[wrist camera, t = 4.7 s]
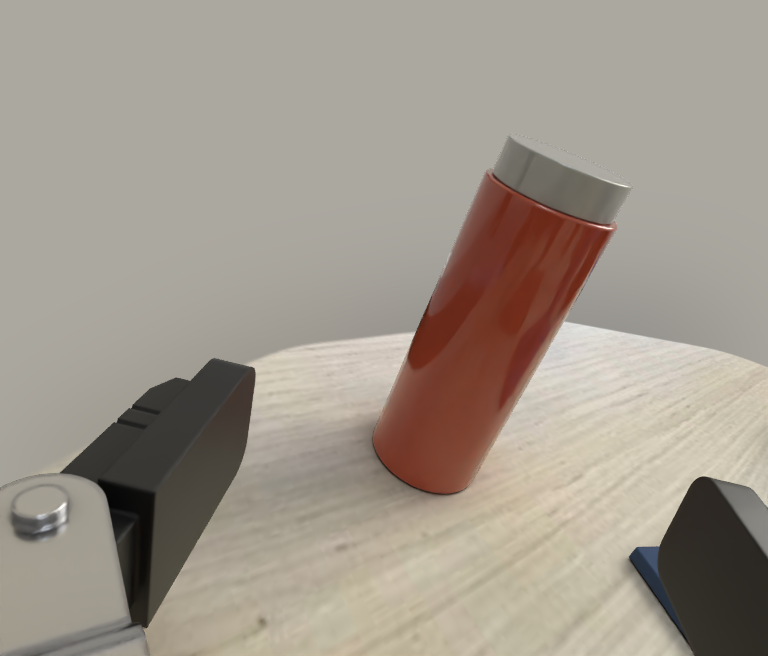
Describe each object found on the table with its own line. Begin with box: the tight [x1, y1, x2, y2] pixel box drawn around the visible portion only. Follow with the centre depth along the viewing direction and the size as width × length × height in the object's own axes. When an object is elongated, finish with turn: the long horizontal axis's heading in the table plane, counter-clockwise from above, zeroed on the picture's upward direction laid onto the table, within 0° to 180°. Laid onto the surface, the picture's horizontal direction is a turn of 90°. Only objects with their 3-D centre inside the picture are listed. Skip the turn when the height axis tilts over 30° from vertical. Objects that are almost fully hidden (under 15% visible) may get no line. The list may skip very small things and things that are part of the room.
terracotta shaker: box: [373, 134, 633, 494], centre depth 20 cm, size 4×4×12 cm
